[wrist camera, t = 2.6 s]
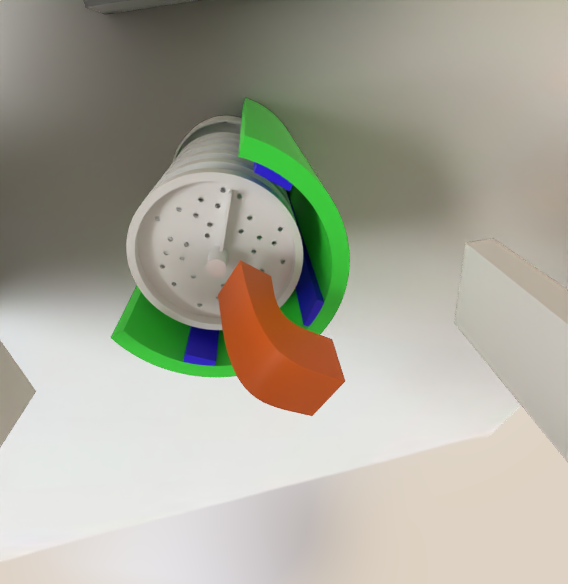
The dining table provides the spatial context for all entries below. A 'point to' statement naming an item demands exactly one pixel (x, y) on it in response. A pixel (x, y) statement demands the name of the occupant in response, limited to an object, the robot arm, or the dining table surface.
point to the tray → (126, 4)
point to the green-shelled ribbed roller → (239, 264)
